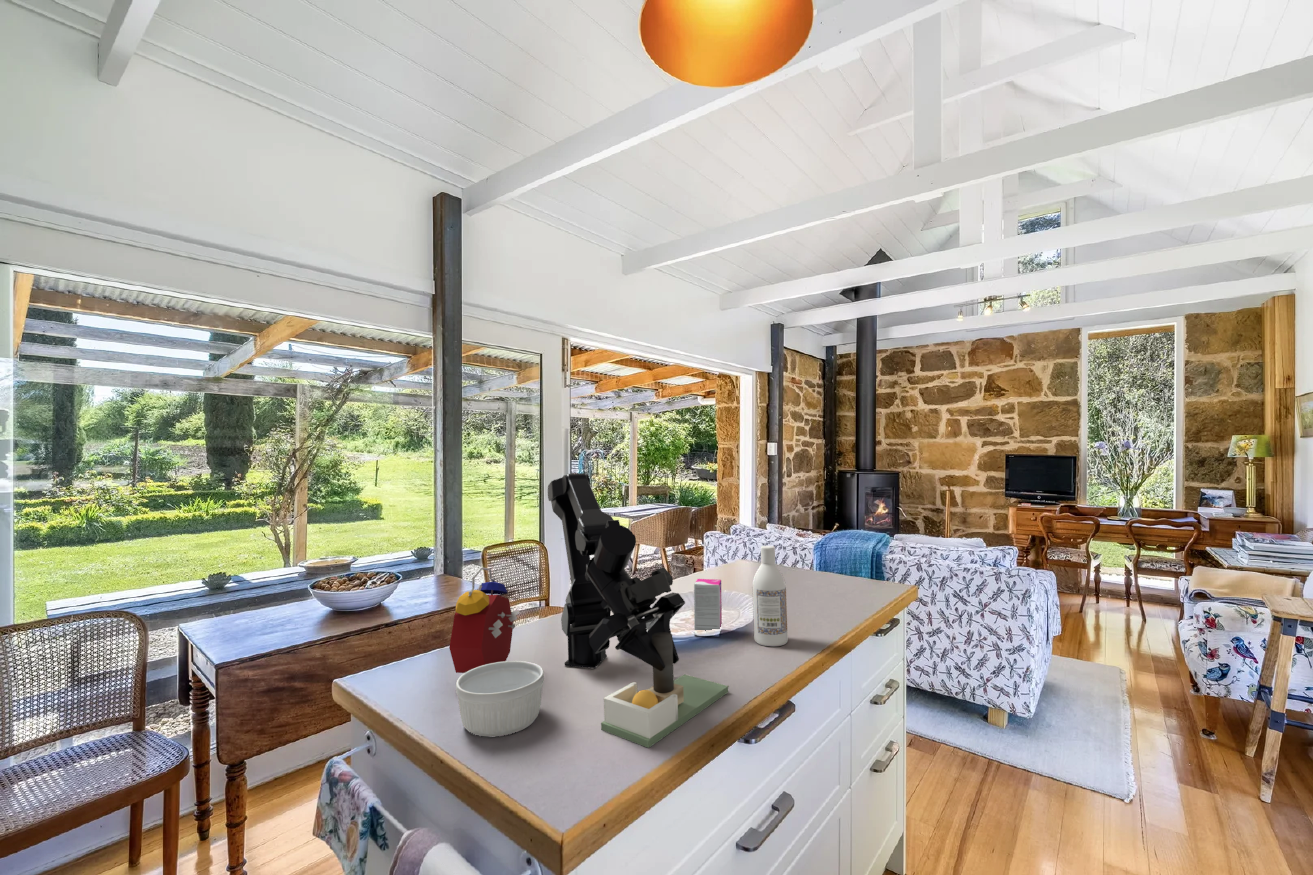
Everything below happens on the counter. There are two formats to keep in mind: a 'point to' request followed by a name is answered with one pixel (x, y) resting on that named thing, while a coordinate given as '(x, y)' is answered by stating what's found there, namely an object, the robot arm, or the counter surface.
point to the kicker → (665, 669)
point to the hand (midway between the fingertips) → (670, 665)
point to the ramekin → (500, 697)
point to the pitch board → (695, 701)
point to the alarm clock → (482, 626)
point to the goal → (639, 712)
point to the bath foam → (769, 602)
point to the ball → (645, 699)
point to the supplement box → (707, 604)
